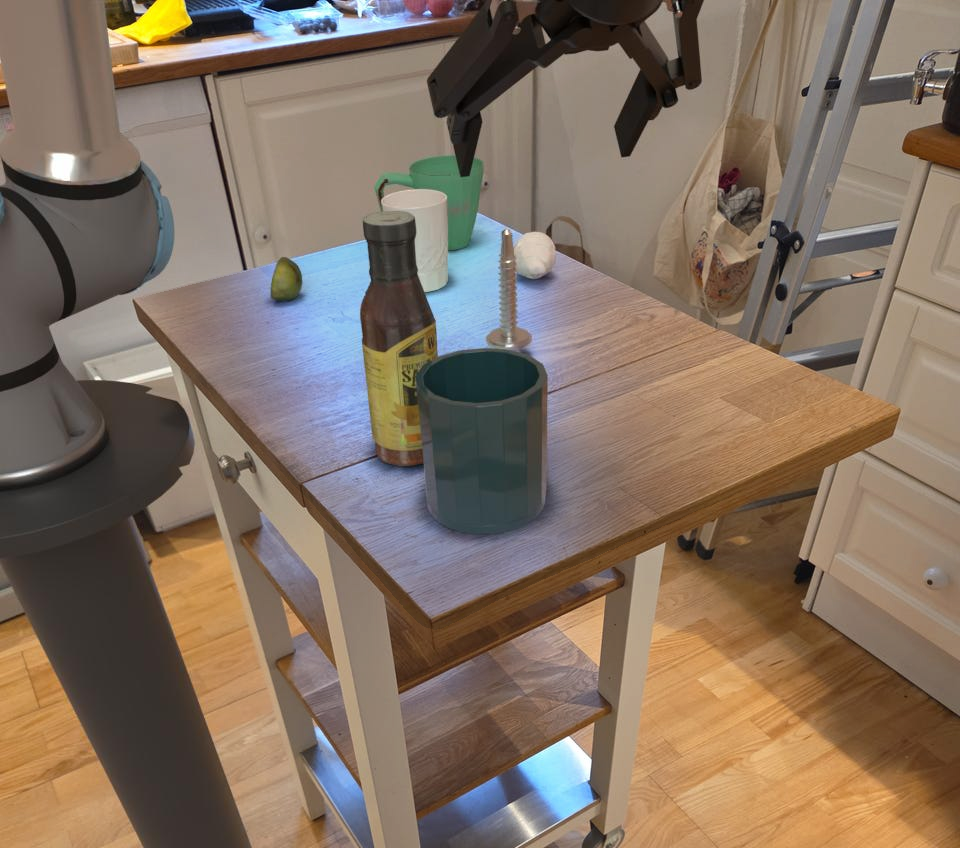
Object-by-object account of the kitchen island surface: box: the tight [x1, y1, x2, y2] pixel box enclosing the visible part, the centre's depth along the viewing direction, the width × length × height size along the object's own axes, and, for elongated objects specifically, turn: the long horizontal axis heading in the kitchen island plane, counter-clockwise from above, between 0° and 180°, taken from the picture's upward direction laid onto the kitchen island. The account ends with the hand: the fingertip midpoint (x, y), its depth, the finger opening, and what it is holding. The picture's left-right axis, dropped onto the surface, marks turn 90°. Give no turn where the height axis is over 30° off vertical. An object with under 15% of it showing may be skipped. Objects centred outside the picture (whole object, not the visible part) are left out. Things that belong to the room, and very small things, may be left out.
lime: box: [269, 256, 303, 302], centre depth 107 cm, size 4×5×5 cm
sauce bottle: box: [359, 211, 439, 467], centre depth 73 cm, size 6×6×20 cm
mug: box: [373, 154, 485, 251], centre depth 118 cm, size 15×10×10 cm
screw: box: [485, 227, 533, 353], centre depth 89 cm, size 13×5×5 cm
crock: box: [415, 347, 549, 535], centre depth 69 cm, size 10×10×11 cm
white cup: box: [381, 188, 449, 293], centre depth 108 cm, size 8×8×10 cm
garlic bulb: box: [513, 231, 557, 280], centre depth 108 cm, size 6×6×5 cm
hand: (542, 151), depth 71 cm, fingers open, 13 cm apart
